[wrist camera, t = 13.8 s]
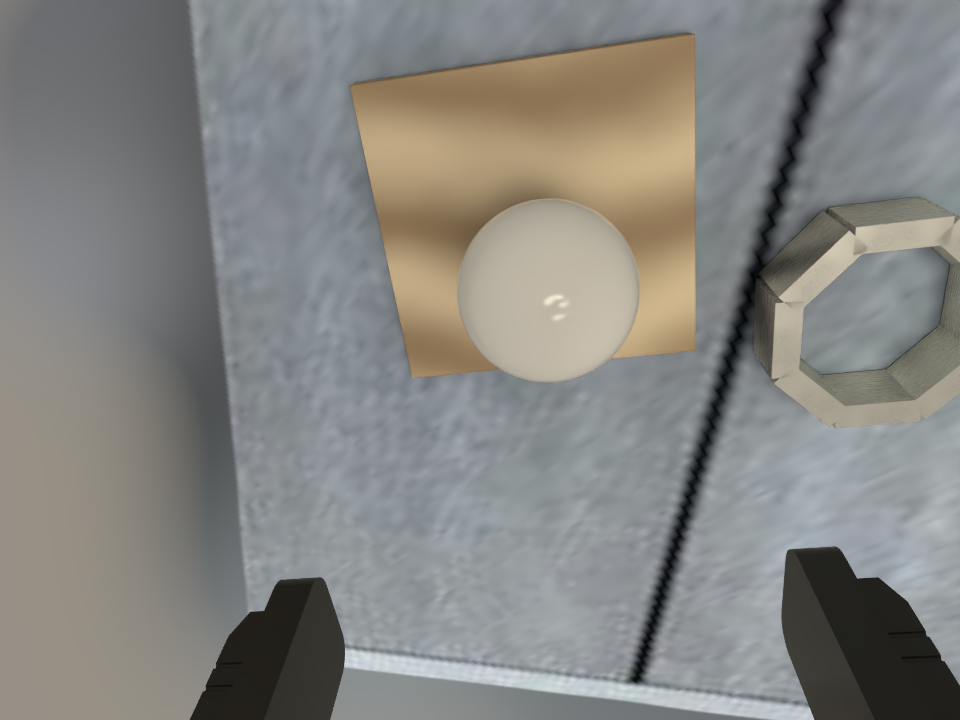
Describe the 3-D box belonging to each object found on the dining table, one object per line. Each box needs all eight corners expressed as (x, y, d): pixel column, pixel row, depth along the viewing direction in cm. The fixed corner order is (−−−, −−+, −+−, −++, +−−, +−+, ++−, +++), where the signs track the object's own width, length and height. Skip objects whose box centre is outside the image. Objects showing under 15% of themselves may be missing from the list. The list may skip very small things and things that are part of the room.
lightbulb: (624, 276, 32) (667, 397, 23) (490, 304, 33) (476, 431, 24) (601, 137, 30) (638, 208, 20) (456, 172, 31) (423, 256, 21)
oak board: (356, 82, 30) (349, 85, 29) (688, 32, 29) (694, 34, 27) (415, 366, 37) (412, 377, 35) (690, 339, 35) (695, 350, 34)
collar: (758, 215, 32) (779, 236, 29) (992, 188, 31) (1036, 206, 28) (750, 401, 36) (768, 433, 34) (954, 383, 35) (989, 415, 33)
